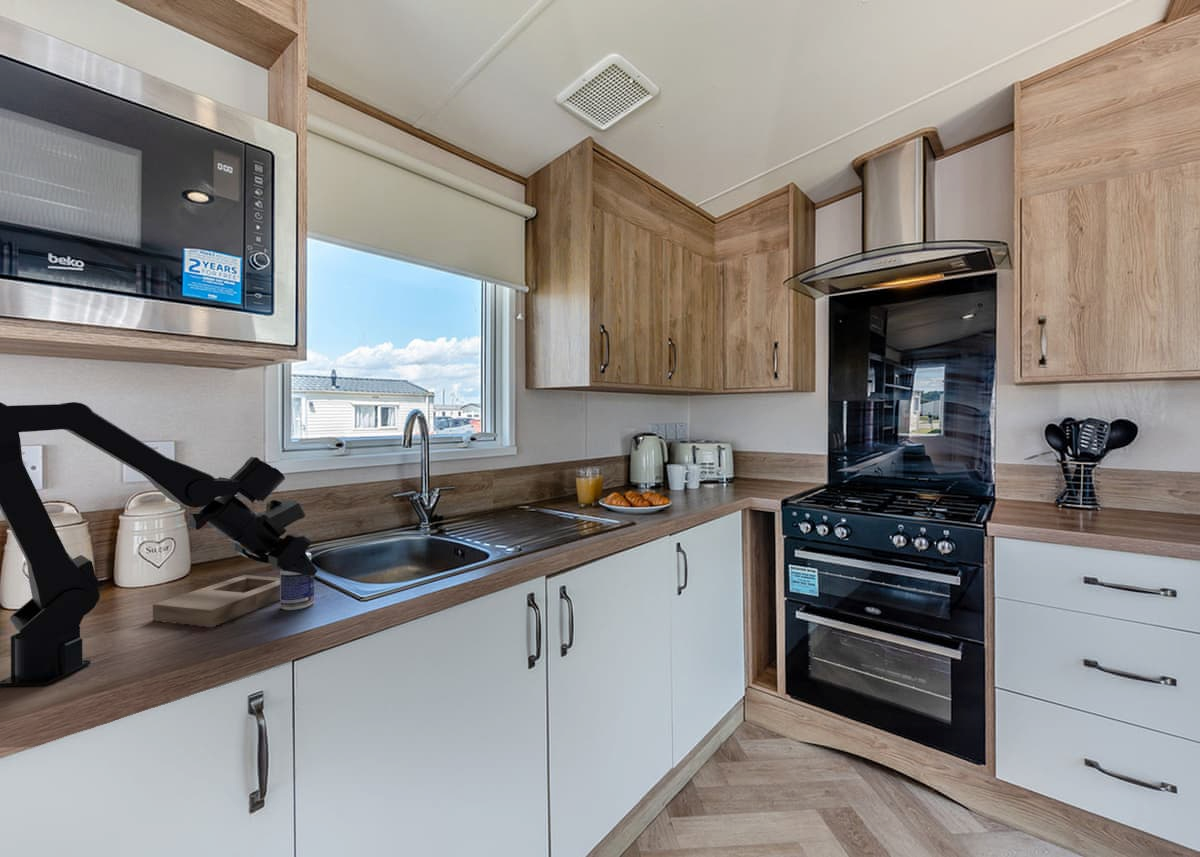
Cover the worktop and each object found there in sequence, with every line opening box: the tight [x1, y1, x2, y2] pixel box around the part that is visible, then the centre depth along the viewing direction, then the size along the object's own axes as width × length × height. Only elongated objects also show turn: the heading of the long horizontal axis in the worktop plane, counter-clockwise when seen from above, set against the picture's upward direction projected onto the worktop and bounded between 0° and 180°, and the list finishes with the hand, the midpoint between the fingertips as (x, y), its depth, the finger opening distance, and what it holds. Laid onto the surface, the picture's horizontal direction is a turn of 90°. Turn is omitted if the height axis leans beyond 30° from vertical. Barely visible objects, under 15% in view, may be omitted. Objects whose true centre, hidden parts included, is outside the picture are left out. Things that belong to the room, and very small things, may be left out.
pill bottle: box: [279, 551, 315, 611], centre depth 98 cm, size 6×6×10 cm
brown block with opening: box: [152, 574, 280, 628], centre depth 97 cm, size 18×13×3 cm
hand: (304, 569), depth 99 cm, fingers open, 8 cm apart
